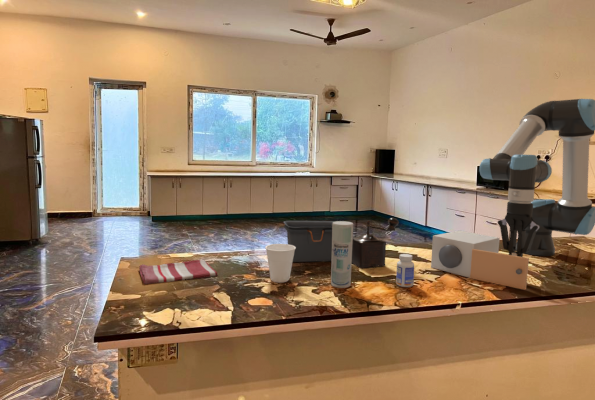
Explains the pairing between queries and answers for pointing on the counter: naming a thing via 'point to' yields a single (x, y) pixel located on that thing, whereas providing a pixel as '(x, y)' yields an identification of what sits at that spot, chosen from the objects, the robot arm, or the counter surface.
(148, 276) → the dish towel
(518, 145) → the robot arm
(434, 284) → the counter surface
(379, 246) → the dark manual coffee grinder
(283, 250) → the cup
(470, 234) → the block
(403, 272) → the pill bottle
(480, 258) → the side door
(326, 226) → the storage bin
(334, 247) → the spray can
